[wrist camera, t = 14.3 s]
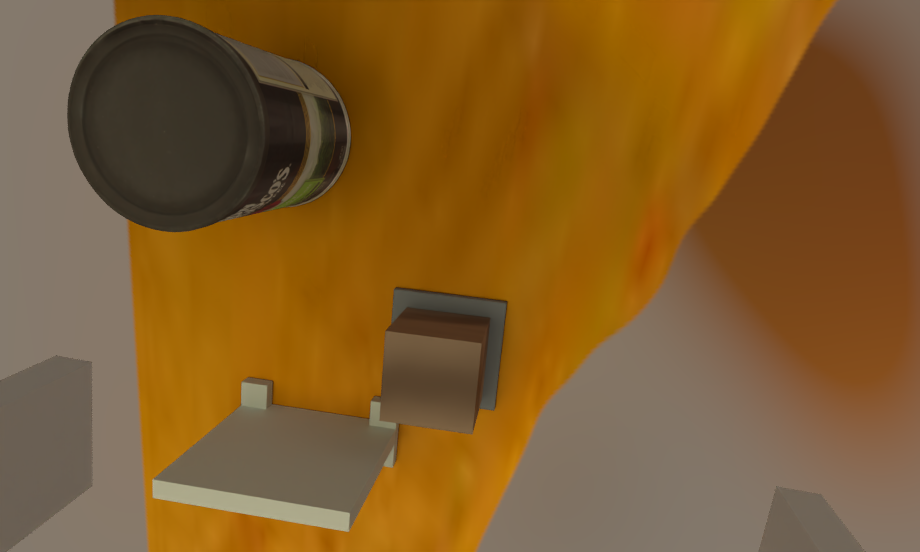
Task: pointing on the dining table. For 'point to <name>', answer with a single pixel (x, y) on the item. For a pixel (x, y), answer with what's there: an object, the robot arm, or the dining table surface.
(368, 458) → the screen
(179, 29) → the coffee can
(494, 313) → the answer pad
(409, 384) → the brown cube
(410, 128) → the dining table surface
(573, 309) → the dining table surface
